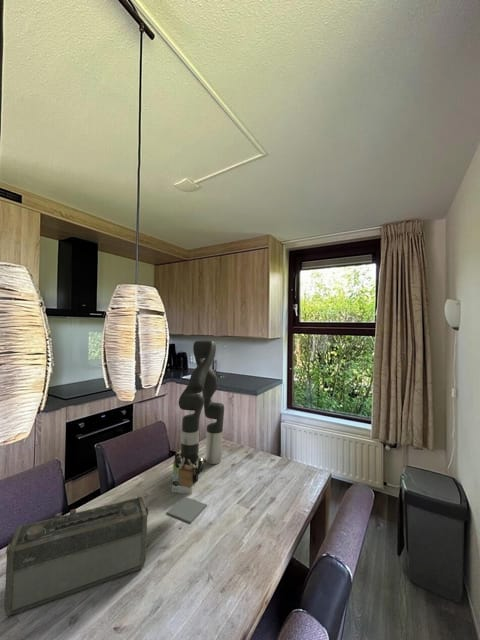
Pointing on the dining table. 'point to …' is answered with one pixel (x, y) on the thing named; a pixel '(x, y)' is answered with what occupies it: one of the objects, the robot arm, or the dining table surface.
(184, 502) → the coaster
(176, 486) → the tea box
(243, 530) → the dining table surface
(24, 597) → the radio
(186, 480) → the walnut cube
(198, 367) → the robot arm
